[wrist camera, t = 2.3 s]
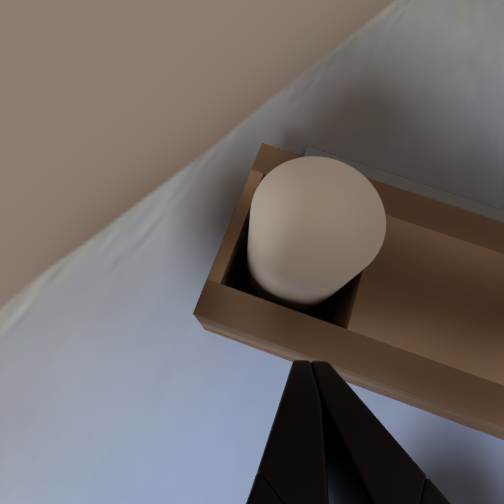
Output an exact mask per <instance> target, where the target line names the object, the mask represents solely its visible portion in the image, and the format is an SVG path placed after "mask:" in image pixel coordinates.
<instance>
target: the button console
mask: <svg viewBox="0 0 504 504" xmlns="http://www.w3.org/2000/svg"><path fill="white" fill-rule="evenodd" d="M301 157H303V156H300V155H297V154H294V153H291V152H288V151H285V150H282V149H279V148H276V147H273V146H270V145H267V144H264V143H262V145H261V147H260V150H259V152H258V155H257V157H256V160H255V162H254V165H253V167H252V170H251V172H250V174H249V177H248V179H247V182H246V184H245V187H244V189H243V192H242V194H241V197H240V199H239V202H238V204H237V206H236V209H235V211H234V214H233V216H232V219H231V221H230V224H229V226H228V229H227V231H226V234H225V236H224V238H223V241H222V243H221V246H220V248H219V251H218V253H217V256H216V258H215V261H214V263H213V266H212V268H211V270H210V273H209V275H208V278H207V280H206V283H205V285H204V288H203V290H202V293H201V295H200V298H199V300H198V302H197V305H196V307H195V310H194V312H193V314H194V315H195V317H196V318H197V320H198V321H199V322H200V324H201V325H202V326H203V328H204V329H205V330H208V331H211V332H213V333H216V334H219V335H222V336H224V337H227V338H230V339H232V340H235V341H238V342H240V343H243V344H246V345H249V346H251V347H254V348H257V349H259V350H262V351H265V352H268V353H270V354H273V355H276V356H278V357H281V358H284V359H286V360H289V361H292V362H293V361H294V360H308V361H310V362H312V361H327V362H329V363H330V364H331V366H332V367H333V368H334V369H335V370H336V371H337V373H338V374H339V375H340V376H341V377H342V378H343V380H344V381H346V382H349V383H351V384H354V385H357V386H360V387H362V388H365V389H368V390H370V391H373V392H376V393H379V394H381V395H384V396H387V397H389V398H392V399H395V400H398V401H400V402H403V403H406V404H408V405H411V406H414V407H416V408H419V409H422V410H425V411H427V412H430V413H433V414H435V415H438V416H441V417H444V418H446V419H449V420H452V421H454V422H457V423H460V424H463V425H465V426H468V427H471V428H473V429H476V430H479V431H481V432H484V433H487V434H490V435H492V436H495V437H498V438H500V439H503V440H504V222H501V221H498V220H495V219H492V218H489V217H485V216H482V215H479V214H476V213H473V212H470V211H467V210H464V209H461V208H458V207H455V206H452V205H449V204H446V203H443V202H440V201H437V200H434V199H431V198H428V197H425V196H422V195H419V194H416V193H413V192H410V191H406V190H403V189H400V188H397V187H394V186H391V185H388V184H385V183H382V182H379V181H376V180H373V179H370V178H367V177H366V178H367V179H368V181H369V182H370V183H371V184H372V185H373V187H374V188H375V189H376V191H377V193H378V195H379V196H380V198H381V201H382V204H383V206H384V210H385V216H386V232H385V238H384V241H383V244H382V247H381V248H380V250H379V252H378V254H377V255H376V257H375V258H374V260H373V261H372V262H371V263H370V264H369V265H368V266H367V267H366V268H365V269H363V270H362V271H361V272H360V273H358V274H357V275H356V276H355V277H354V278H352V279H351V280H350V281H349V282H348V283H346V284H345V285H344V286H343V287H341V288H340V289H339V290H338V291H337V292H335V293H334V294H333V295H332V296H331V299H330V302H329V306H328V309H327V312H326V316H325V319H324V321H322V320H320V319H317V318H314V317H311V316H309V315H306V314H303V313H300V312H297V311H295V310H292V309H289V308H286V307H283V306H281V305H278V304H275V303H272V302H270V301H267V300H264V299H261V298H258V297H256V296H253V295H250V294H247V293H245V292H242V291H239V290H236V289H233V288H232V285H233V282H234V280H235V277H236V275H237V272H238V269H239V267H240V264H241V262H242V259H243V256H244V254H245V251H246V248H247V245H248V233H249V221H250V209H251V203H252V199H253V196H254V193H255V191H256V189H257V187H258V186H259V184H260V183H261V181H262V180H263V179H264V177H265V176H266V175H267V174H268V173H269V172H271V171H272V170H273V169H274V168H276V167H277V166H279V165H281V164H283V163H285V162H287V161H290V160H293V159H296V158H301Z"/></svg>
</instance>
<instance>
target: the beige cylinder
mask: <svg viewBox="0 0 504 504" xmlns="http://www.w3.org/2000/svg"><path fill="white" fill-rule="evenodd" d="M385 232H386V216H385V210H384V206H383V204H382V201H381V198H380V196H379V195H378V193H377V191H376V189H375V188H374V187H373V185H372V184H371V183H370V182H369V181H368V179H367V178H366V177H365V176H363V175H362V174H361V173H360V172H359V171H357V170H356V169H354V168H353V167H351V166H349V165H347V164H345V163H343V162H340V161H338V160H335V159H331V158H326V157H317V156H309V157H301V158H296V159H293V160H290V161H287V162H285V163H283V164H281V165H279V166H277V167H276V168H274V169H273V170H272V171H271V172H269V173H268V174H267V175H266V176H265V177H264V179H263V180H262V181H261V183H260V184H259V186H258V187H257V189H256V191H255V193H254V196H253V199H252V203H251V209H250V221H249V233H248V245H247V257H246V267H247V273H248V277H249V280H250V282H251V284H252V286H253V288H254V289H255V290H256V292H257V293H258V294H259V295H260V296H261V297H262V298H263V299H264V300H267V301H270V302H272V303H275V304H278V305H281V306H283V307H286V308H289V309H292V310H295V311H302V310H307V309H311V308H314V307H316V306H318V305H320V304H321V303H323V302H324V301H326V300H327V299H328V298H329V297H330V296H332V295H333V294H334V293H335V292H337V291H338V290H339V289H340V288H341V287H343V286H344V285H345V284H346V283H348V282H349V281H350V280H351V279H352V278H354V277H355V276H356V275H357V274H358V273H360V272H361V271H362V270H363V269H365V268H366V267H367V266H368V265H369V264H370V263H371V262H372V261H373V260H374V258H375V257H376V255H377V254H378V252H379V250H380V248H381V247H382V244H383V241H384V238H385Z"/></svg>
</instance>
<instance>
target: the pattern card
mask: <svg viewBox="0 0 504 504" xmlns="http://www.w3.org/2000/svg"><path fill="white" fill-rule="evenodd" d="M309 156H317V157H326V158H331V159H335V160H338V161H340V162H343V163H345V164H347V165H349V166H351V167H353V168H354V169H356V170H357V171H359V172H360V173H361V174H362V175H363V176H365V177H367V178H370V179H373V180H376V181H379V182H382V183H385V184H388V185H391V186H394V187H397V188H400V189H403V190H406V191H410V192H413V193H416V194H419V195H422V196H425V197H428V198H431V199H434V200H437V201H440V202H443V203H446V204H449V205H452V206H455V207H458V208H461V209H464V210H467V211H470V212H473V213H476V214H479V215H482V216H485V217H489V218H492V219H495V220H498V221H501V222H504V210H501V209H498V208H495V207H492V206H489V205H486V204H483V203H479V202H476V201H473V200H470V199H467V198H464V197H461V196H458V195H455V194H452V193H449V192H446V191H443V190H440V189H437V188H434V187H431V186H427V185H424V184H421V183H418V182H415V181H412V180H409V179H406V178H403V177H400V176H397V175H394V174H391V173H388V172H385V171H382V170H379V169H375V168H372V167H369V166H366V165H363V164H360V163H357V162H354V161H351V160H348V159H345V158H342V157H339V156H336V155H333V154H330V153H327V152H323V151H320V150H317V149H314V148H311V147H308V146H307V148H306V151H305V153H304V156H303V157H309Z"/></svg>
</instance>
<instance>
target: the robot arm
mask: <svg viewBox="0 0 504 504" xmlns="http://www.w3.org/2000/svg"><path fill="white" fill-rule="evenodd" d="M246 504H451V503H450V502H449V501H448V500H447V499H446V498H445V497H444V495H443V494H442V493H441V492H440V491H439V490H438V489H437V487H436V486H435V485H434V484H433V483H432V482H431V480H430V479H426V475H425V474H424V472H423V471H422V470H421V469H420V468H419V467H418V466H417V464H416V463H415V462H414V461H413V460H412V459H411V457H410V456H409V455H408V454H407V453H406V452H405V450H404V449H403V448H402V447H401V446H400V445H399V443H398V442H397V441H396V440H395V439H394V438H393V436H392V435H391V434H390V433H389V432H388V431H387V430H386V428H385V427H384V426H383V425H382V424H381V423H380V421H379V420H378V419H377V418H376V417H375V416H374V414H373V413H372V412H371V411H370V410H369V409H368V407H367V406H366V405H365V404H364V403H363V402H362V400H361V399H360V398H359V397H358V396H357V395H356V393H355V392H354V391H353V390H352V389H351V388H350V387H349V385H348V384H347V383H346V382H345V381H344V380H343V378H342V377H341V376H340V375H339V374H338V373H337V371H336V370H335V369H334V368H333V367H332V366H331V364H330V363H329V362H327V361H312V362H310V361H308V360H294V361H293V364H292V367H291V370H290V373H289V376H288V379H287V382H286V385H285V388H284V391H283V394H282V397H281V400H280V403H279V407H278V410H277V413H276V416H275V419H274V422H273V425H272V428H271V431H270V434H269V437H268V440H267V443H266V446H265V449H264V453H263V456H262V459H261V462H260V465H259V468H258V471H257V474H256V476H255V479H254V483H253V486H252V489H251V492H250V494H249V497H248V500H247V503H246Z"/></svg>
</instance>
